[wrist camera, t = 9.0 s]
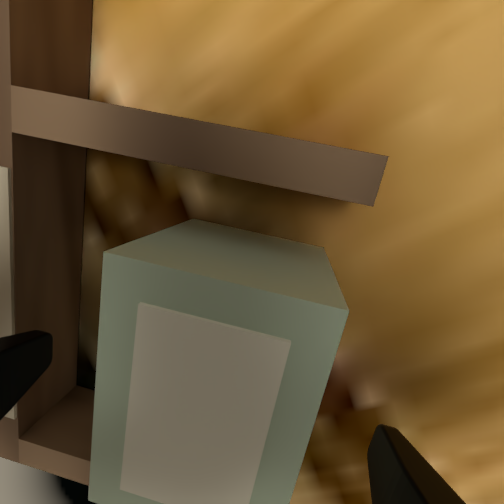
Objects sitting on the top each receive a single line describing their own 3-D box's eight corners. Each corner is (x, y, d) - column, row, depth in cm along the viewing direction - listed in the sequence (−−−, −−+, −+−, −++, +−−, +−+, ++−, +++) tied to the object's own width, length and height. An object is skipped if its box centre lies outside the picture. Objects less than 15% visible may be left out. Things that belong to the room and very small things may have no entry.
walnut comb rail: (517, -390, 7) (700, -863, 4) (276, 465, 13) (270, 547, 10) (66, -396, 8) (-80, -765, 5) (53, 398, 14) (-12, 456, 11)
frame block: (323, 246, 11) (350, 313, 5) (281, 401, 13) (271, 565, 7) (194, 218, 11) (100, 252, 6) (172, 370, 13) (85, 504, 8)
